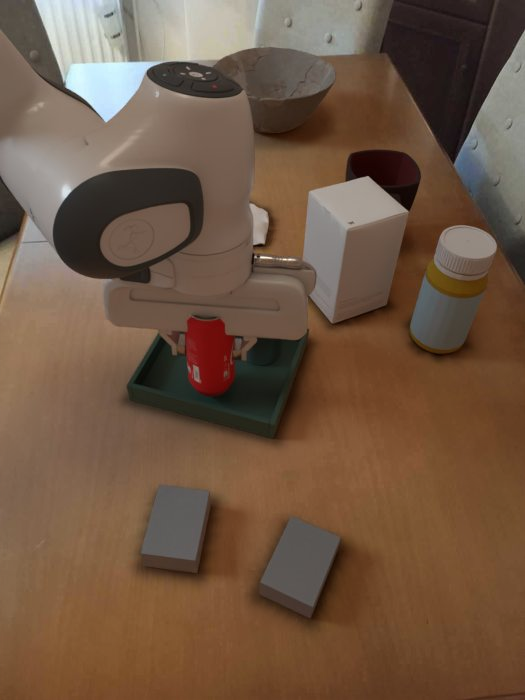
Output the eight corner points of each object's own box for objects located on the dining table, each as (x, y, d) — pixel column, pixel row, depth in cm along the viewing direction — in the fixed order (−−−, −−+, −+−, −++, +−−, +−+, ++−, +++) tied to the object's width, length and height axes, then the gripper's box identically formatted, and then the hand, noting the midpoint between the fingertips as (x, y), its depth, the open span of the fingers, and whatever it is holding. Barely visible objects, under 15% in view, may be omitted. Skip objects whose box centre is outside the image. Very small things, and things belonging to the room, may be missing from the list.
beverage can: (195, 361, 70) (188, 283, 61) (238, 367, 69) (238, 289, 61) (184, 395, 66) (175, 317, 58) (229, 402, 66) (228, 325, 57)
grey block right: (258, 594, 54) (259, 582, 52) (289, 528, 58) (291, 515, 56) (310, 619, 52) (313, 607, 50) (337, 550, 57) (341, 537, 55)
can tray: (129, 400, 68) (126, 385, 66) (180, 313, 78) (178, 298, 76) (273, 439, 65) (274, 425, 63) (307, 343, 75) (309, 328, 73)
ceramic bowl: (350, 115, 118) (357, 63, 111) (293, 166, 104) (297, 110, 97) (254, 88, 125) (255, 37, 118) (189, 132, 112) (186, 77, 104)
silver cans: (180, 346, 73) (172, 270, 65) (195, 319, 77) (189, 243, 68) (274, 369, 71) (279, 294, 62) (285, 341, 74) (291, 265, 66)
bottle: (451, 364, 73) (489, 269, 62) (399, 341, 76) (426, 246, 65) (471, 331, 77) (509, 236, 66) (421, 310, 80) (449, 215, 69)
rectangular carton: (389, 306, 80) (412, 211, 69) (331, 326, 77) (347, 230, 66) (352, 267, 86) (369, 173, 75) (298, 284, 83) (307, 189, 72)
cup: (394, 219, 94) (410, 148, 85) (416, 276, 85) (436, 203, 76) (332, 220, 94) (342, 149, 85) (347, 278, 84) (360, 205, 75)
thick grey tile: (143, 566, 55) (140, 553, 53) (161, 498, 60) (159, 484, 58) (197, 573, 55) (195, 560, 53) (211, 504, 60) (209, 490, 58)
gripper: (319, 238, 56) (306, 340, 66) (104, 223, 57) (124, 326, 67) (318, 281, 52) (305, 383, 62) (86, 264, 53) (110, 368, 63)
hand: (210, 353), depth 65 cm, fingers closed on beverage can, 5 cm apart
